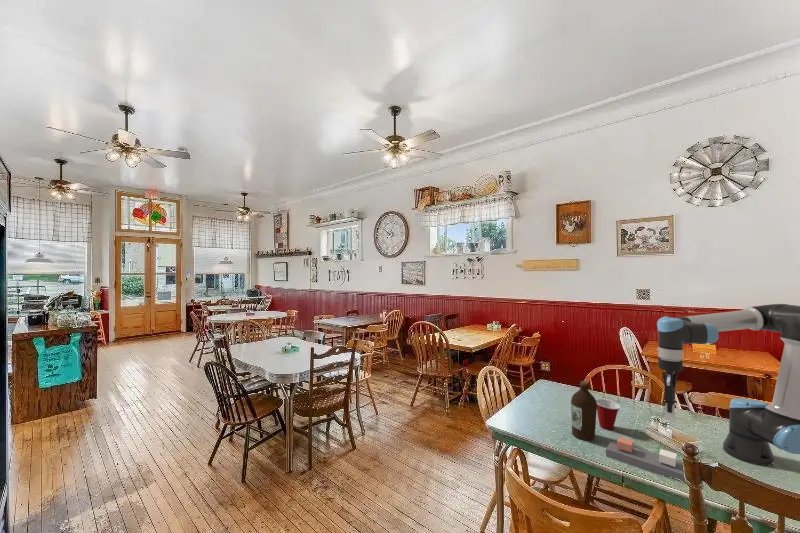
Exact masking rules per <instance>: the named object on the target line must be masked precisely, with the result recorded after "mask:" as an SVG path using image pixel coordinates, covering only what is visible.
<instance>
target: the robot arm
mask: <svg viewBox="0 0 800 533" xmlns="http://www.w3.org/2000/svg"><path fill="white" fill-rule="evenodd" d="M656 327H657V335H658V336H657V337H658V338H657V346H658V347H657V348H656V351H657V352H658V355H657V356H658V359H657V367H658V368H660V370H663V375H662V378H663V385H664V400H663V401H662V403H663V404H665V408H664V409H665V410H664V411H665V412H664V415H665V416H664V417H665V418H664V419H665V420H666V421H671V422H675V416H676V415H675V414H676V411H675V404H677V403H678V401H677V400H676V385H677V379H678V374H677V373H676V372H678V373H679V372H682V371H683V370H684V363H683V360H684V344H693V345H695V344H697V345H698V344H699V345H700V344H701V345H702V344H703V345H710V344H714V343H717V341H718V340H719V338H720V337H719V332H730V331H738V330H748V329H749V330H751V331H769V332H775V333H779V334H780V336H779V339H780V340H781V341H782V342H783V343H784V345H783V351H782V355H781V360H780V365H779V367H778V368H779V370H778V374H777V379H776V383H775V386H774V387H775V388H774V393H773V398H772V401H771V403H770V404H768V403H767V402H765V401H761V400H758V399H753V398H752V399H751V398H741V397H738V398H737V397H735V398H732V399H730V402H729V413H728V414H729V419H728V420H729V422H728V423H729V424H728V425H729V426H728V427H729V429H728V433H727V436H726V437H725V439H724V441H723V444H722V449H723V451H724V453H726V454H728V455H729V456H731V457H734V458H735V459H737V460H739V461H742V462H746V463H750V464H753V463H754V465H758V466H770V465H769V464H772V463H773V462H774V463H775V456H774V454H773V451H772V449H771V445H773V446H775V448H778V450H780V451H781V450H782V451H785V452H787V453H789V454H793V455H800V305H795V304H788V303H771V304H764V305H763V304H762V305H754V306H747V307H744V308H743V309H742V310H733V311H723V312H714V313H706V314H698V315H688V316H678V317H677V316H676V317H673V316H662V317H661V318H659V319H658V320H657V322H656ZM772 465H773V464H772Z"/></svg>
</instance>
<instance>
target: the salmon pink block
mask: <svg viewBox="0 0 800 533" xmlns="http://www.w3.org/2000/svg"><path fill="white" fill-rule="evenodd" d="M616 442H617V448H618V449H621V450H624V451H627V452H630V453H632V451H633V449H634V447H635V440H632V439H629V438H627V437H622V436H619V438H618V439H617V441H616Z"/></svg>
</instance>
